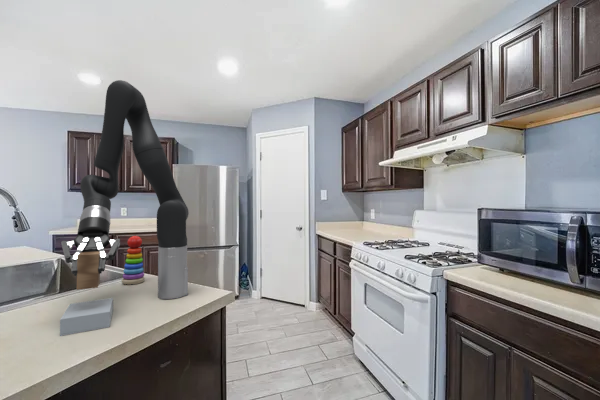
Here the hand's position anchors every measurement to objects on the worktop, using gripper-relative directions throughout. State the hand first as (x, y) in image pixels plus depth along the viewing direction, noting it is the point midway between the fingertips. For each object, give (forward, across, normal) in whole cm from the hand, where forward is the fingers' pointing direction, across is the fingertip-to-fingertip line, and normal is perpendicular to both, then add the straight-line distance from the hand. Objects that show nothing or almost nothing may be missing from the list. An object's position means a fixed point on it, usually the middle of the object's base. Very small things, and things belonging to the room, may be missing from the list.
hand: (88, 272), depth 74 cm
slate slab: (+9, 0, +11) cm, 14 cm away
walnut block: (+2, 0, +4) cm, 4 cm away
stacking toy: (-17, +10, +37) cm, 43 cm away
